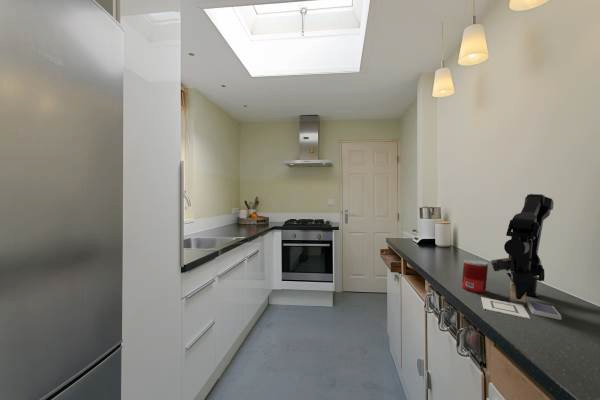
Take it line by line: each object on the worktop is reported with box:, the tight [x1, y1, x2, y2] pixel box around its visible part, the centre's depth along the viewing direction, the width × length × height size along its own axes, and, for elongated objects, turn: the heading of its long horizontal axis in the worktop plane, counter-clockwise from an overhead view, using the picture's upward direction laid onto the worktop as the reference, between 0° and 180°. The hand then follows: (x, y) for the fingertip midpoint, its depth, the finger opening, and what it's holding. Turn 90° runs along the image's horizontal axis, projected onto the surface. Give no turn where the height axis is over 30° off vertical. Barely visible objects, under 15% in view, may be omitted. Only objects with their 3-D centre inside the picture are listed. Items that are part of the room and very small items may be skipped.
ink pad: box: [526, 300, 562, 321], centre depth 94 cm, size 9×7×1 cm
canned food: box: [461, 259, 489, 294], centre depth 113 cm, size 8×8×11 cm
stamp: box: [507, 281, 527, 306], centre depth 102 cm, size 4×4×7 cm
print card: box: [480, 296, 531, 320], centre depth 96 cm, size 12×12×1 cm
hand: (517, 297), depth 102 cm, fingers closed on stamp, 4 cm apart
